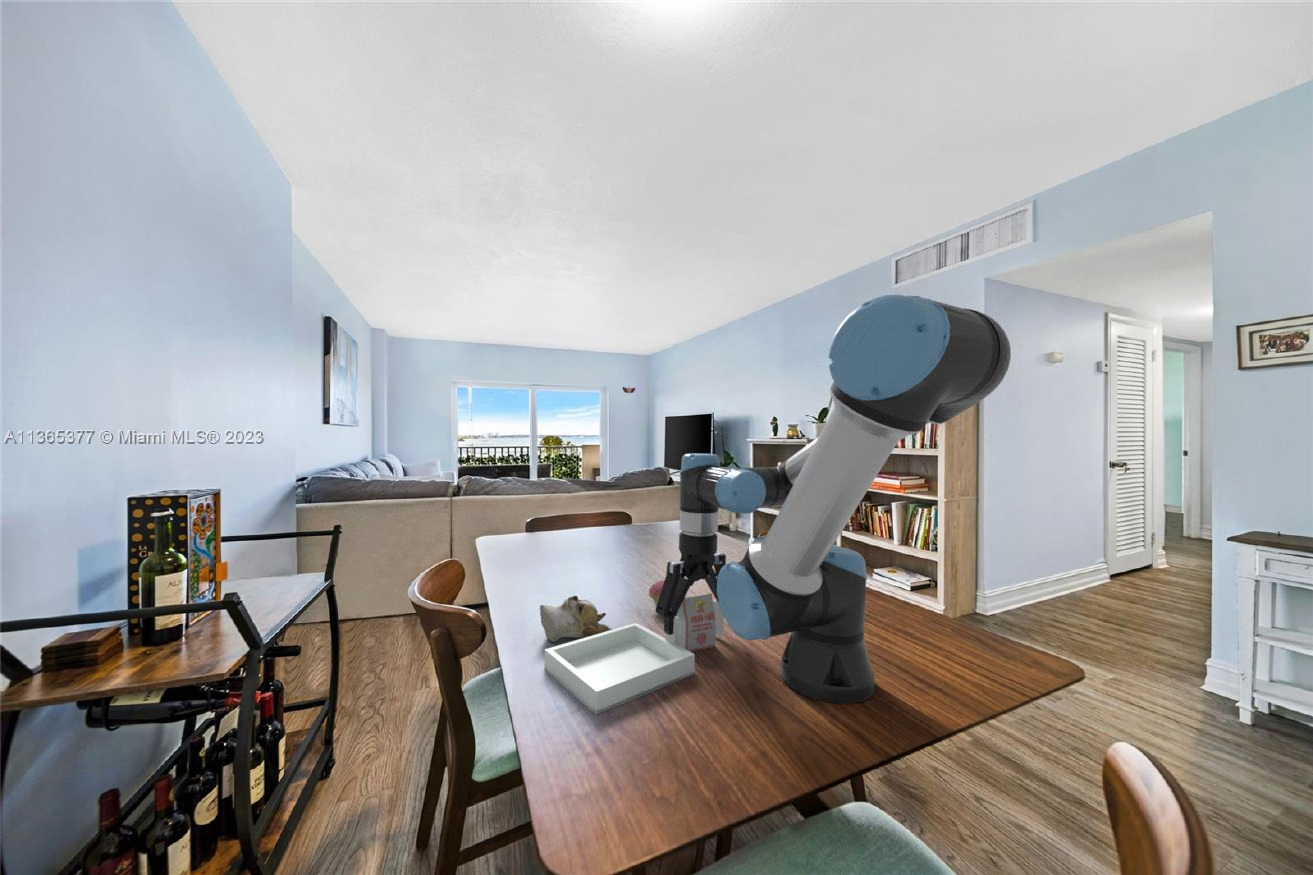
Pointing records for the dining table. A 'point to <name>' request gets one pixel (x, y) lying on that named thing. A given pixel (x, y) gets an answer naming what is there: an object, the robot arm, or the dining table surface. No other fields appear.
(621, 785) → the dining table surface
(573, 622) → the ceramic sculpture
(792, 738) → the dining table surface
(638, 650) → the tray
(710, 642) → the white printed box
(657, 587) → the cupcake
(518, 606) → the dining table surface
